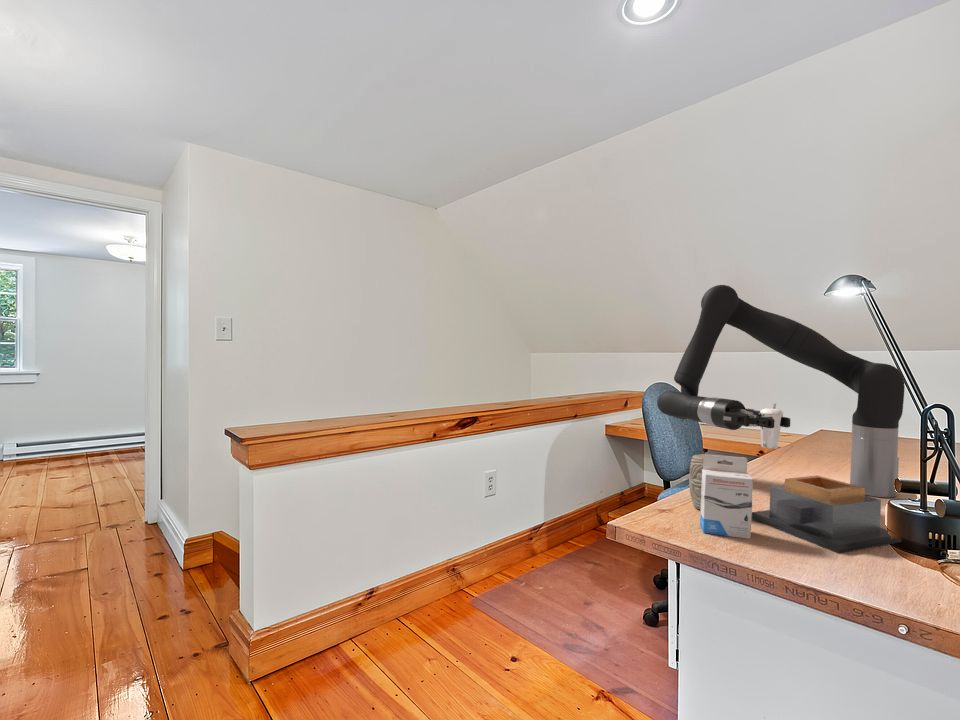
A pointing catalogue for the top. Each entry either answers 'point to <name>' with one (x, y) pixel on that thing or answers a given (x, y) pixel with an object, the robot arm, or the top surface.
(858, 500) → the stepped frame block
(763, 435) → the milkshake
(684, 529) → the top surface
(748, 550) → the top surface
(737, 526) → the ink box
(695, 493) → the carving
